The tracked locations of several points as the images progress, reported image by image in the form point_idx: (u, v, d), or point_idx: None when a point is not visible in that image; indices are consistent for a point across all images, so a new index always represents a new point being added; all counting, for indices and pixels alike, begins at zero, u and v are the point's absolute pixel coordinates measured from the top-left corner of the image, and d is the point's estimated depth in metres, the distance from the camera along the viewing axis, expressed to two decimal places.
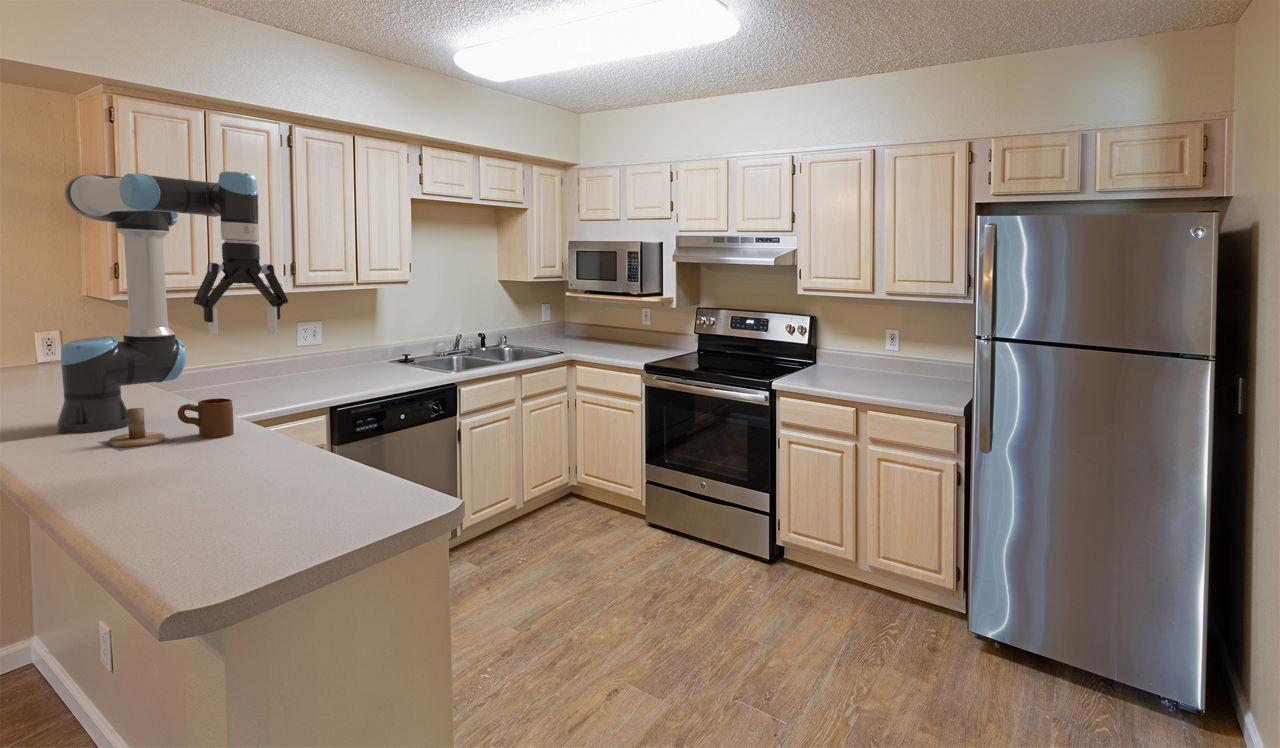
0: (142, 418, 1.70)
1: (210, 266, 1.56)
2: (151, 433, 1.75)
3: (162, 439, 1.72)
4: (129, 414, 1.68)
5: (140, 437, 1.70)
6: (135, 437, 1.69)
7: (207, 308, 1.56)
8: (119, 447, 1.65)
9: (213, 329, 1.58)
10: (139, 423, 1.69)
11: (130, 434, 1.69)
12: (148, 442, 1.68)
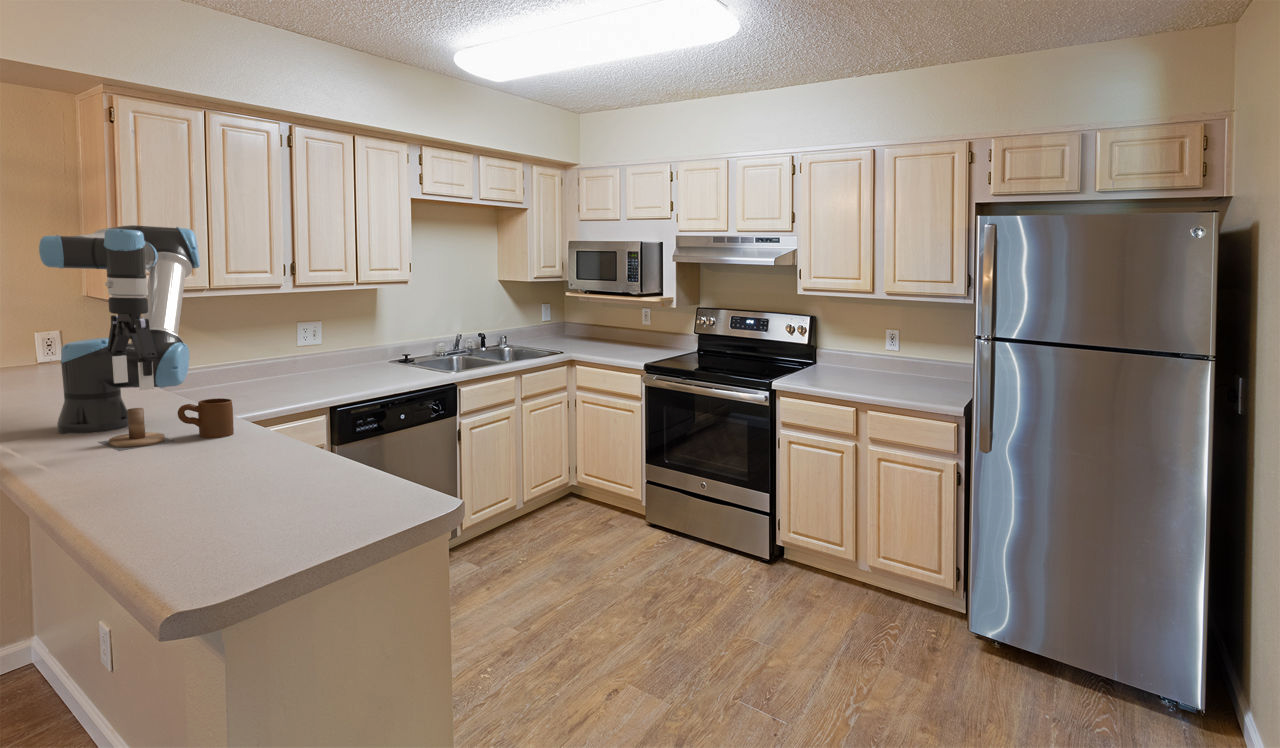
0: (142, 418, 1.70)
1: None
2: (151, 433, 1.75)
3: (162, 439, 1.72)
4: (129, 414, 1.68)
5: (140, 437, 1.70)
6: (135, 437, 1.69)
7: None
8: (119, 447, 1.65)
9: None
10: (139, 423, 1.69)
11: (130, 434, 1.69)
12: (148, 442, 1.68)
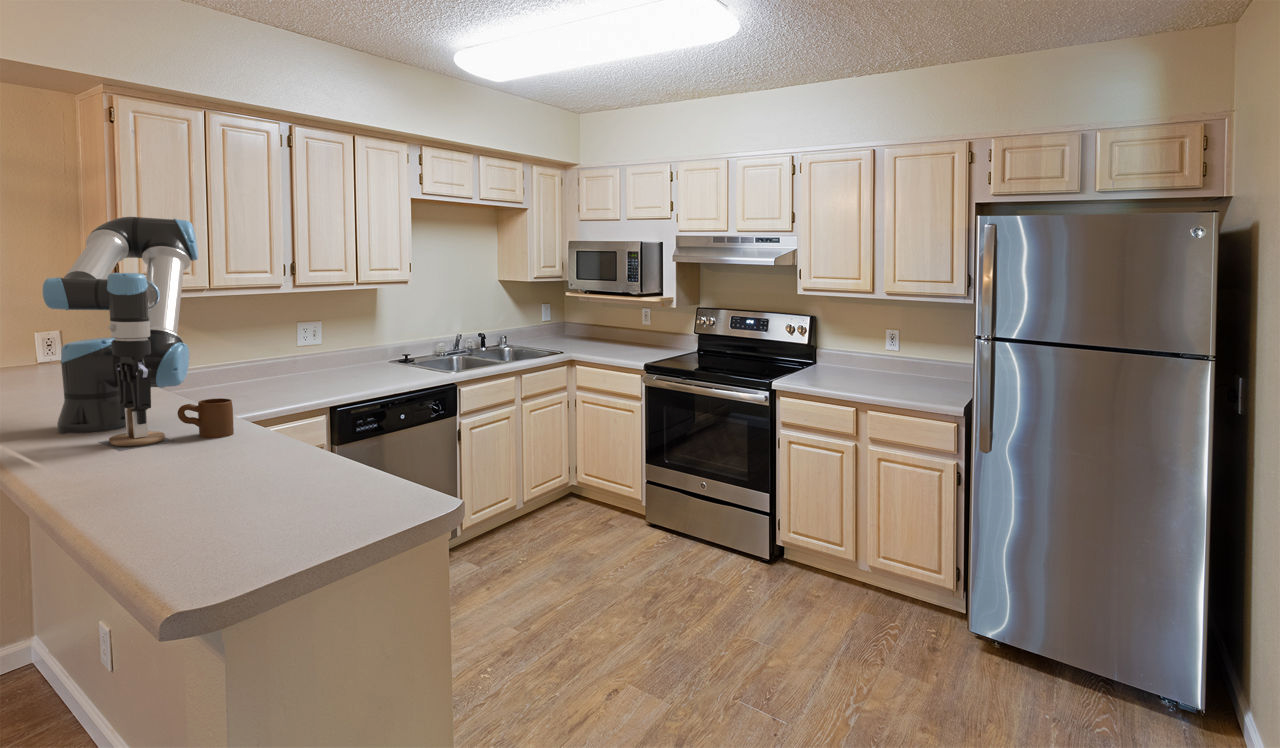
0: None
1: None
2: (151, 432, 1.75)
3: (162, 438, 1.72)
4: (129, 413, 1.68)
5: None
6: None
7: (126, 407, 1.71)
8: (119, 447, 1.65)
9: None
10: None
11: (130, 433, 1.69)
12: (148, 441, 1.68)
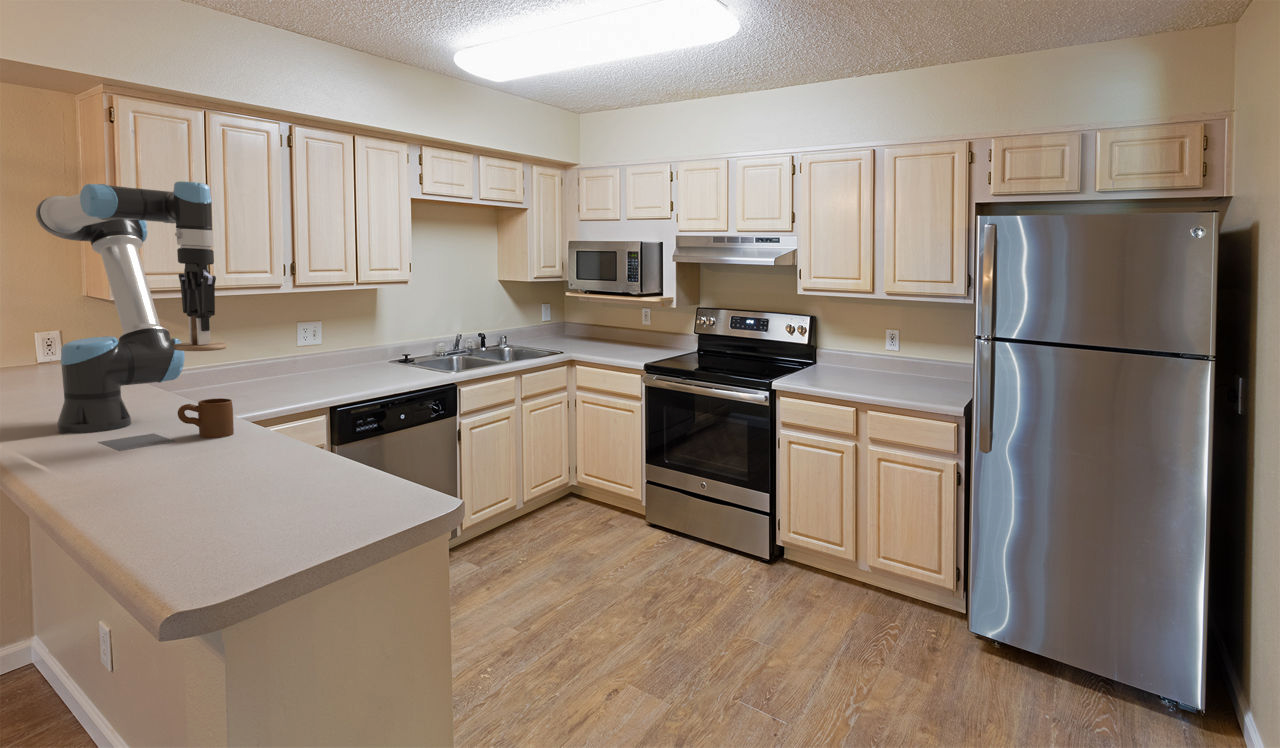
0: None
1: None
2: (212, 342, 1.80)
3: (224, 346, 1.76)
4: (193, 320, 1.73)
5: None
6: None
7: (189, 316, 1.75)
8: (119, 447, 1.65)
9: None
10: None
11: (194, 340, 1.74)
12: (211, 347, 1.72)
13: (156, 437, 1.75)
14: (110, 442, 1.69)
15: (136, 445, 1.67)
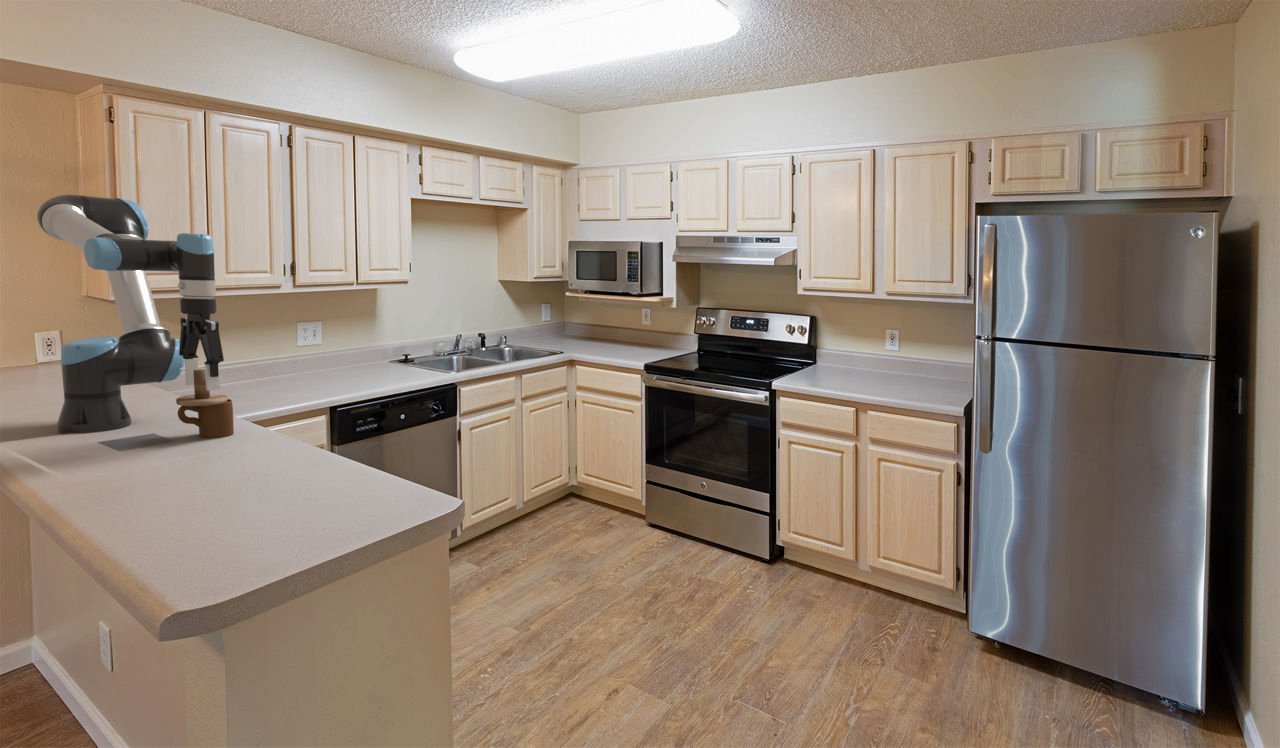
0: None
1: None
2: (214, 394, 1.81)
3: (226, 399, 1.78)
4: (195, 375, 1.75)
5: (205, 397, 1.76)
6: (201, 397, 1.76)
7: (185, 359, 1.79)
8: (119, 447, 1.65)
9: None
10: (205, 383, 1.76)
11: (196, 394, 1.75)
12: (213, 401, 1.74)
13: (156, 437, 1.75)
14: (110, 442, 1.69)
15: (136, 445, 1.67)
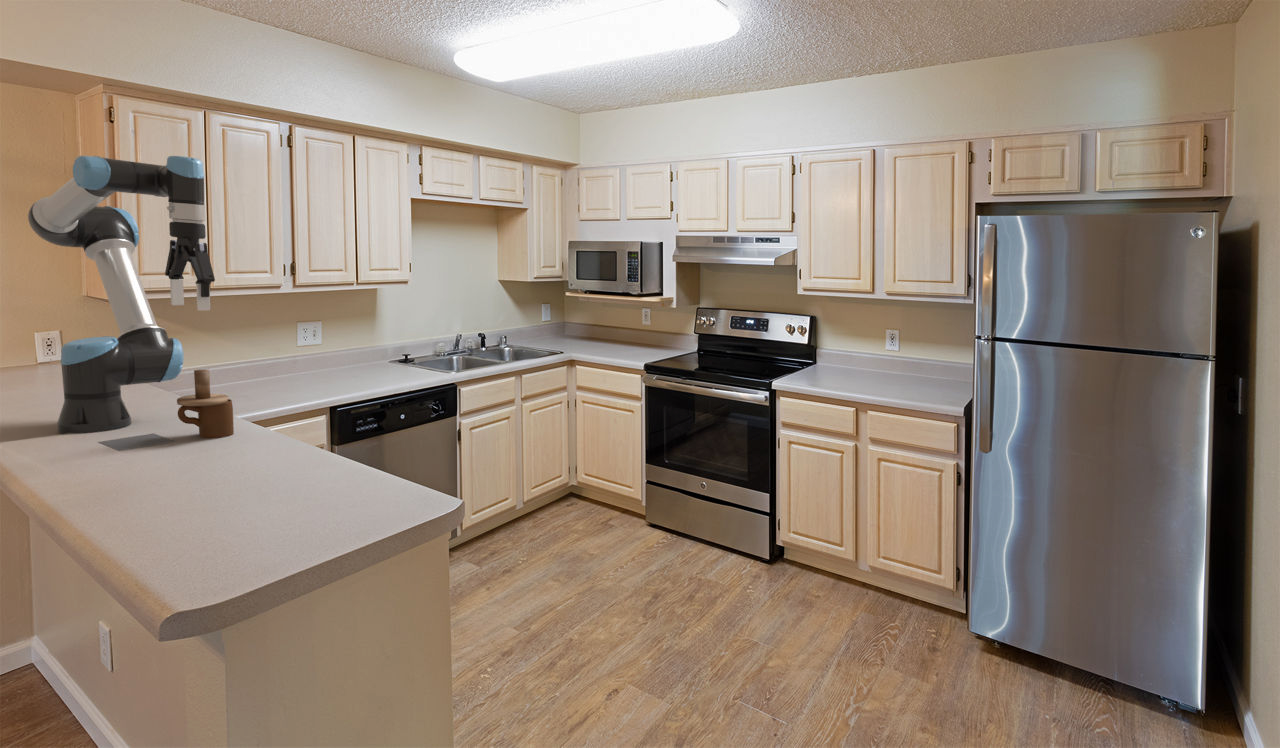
0: (208, 379, 1.76)
1: None
2: (215, 394, 1.82)
3: (226, 399, 1.78)
4: (196, 375, 1.75)
5: (206, 397, 1.76)
6: (201, 397, 1.76)
7: None
8: (119, 447, 1.65)
9: None
10: (205, 383, 1.76)
11: (196, 394, 1.76)
12: (214, 401, 1.74)
13: (156, 437, 1.75)
14: (110, 442, 1.69)
15: (136, 445, 1.67)
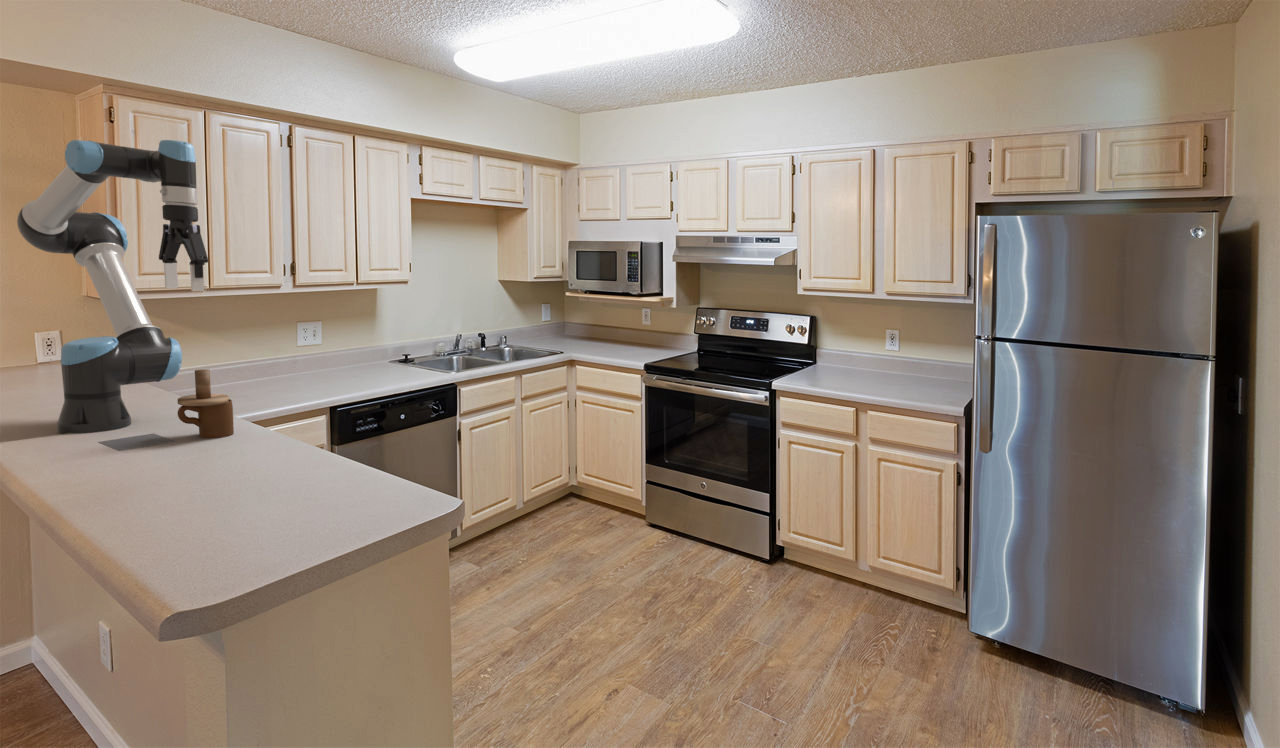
0: (208, 379, 1.76)
1: None
2: (215, 394, 1.82)
3: (227, 399, 1.78)
4: (196, 375, 1.75)
5: (206, 397, 1.76)
6: (202, 397, 1.76)
7: None
8: (119, 447, 1.65)
9: None
10: (206, 383, 1.76)
11: (197, 394, 1.76)
12: (215, 401, 1.74)
13: (156, 437, 1.75)
14: (110, 442, 1.69)
15: (136, 445, 1.67)
